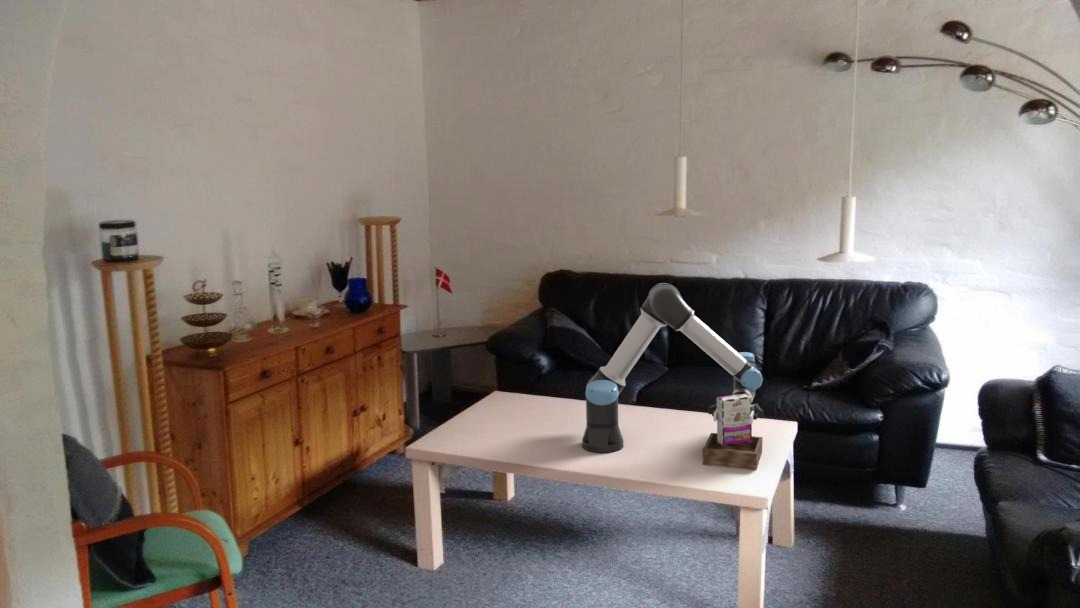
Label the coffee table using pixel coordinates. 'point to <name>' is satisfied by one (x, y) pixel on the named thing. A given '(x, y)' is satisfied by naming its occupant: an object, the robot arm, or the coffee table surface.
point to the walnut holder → (732, 453)
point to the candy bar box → (734, 419)
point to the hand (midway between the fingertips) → (732, 418)
